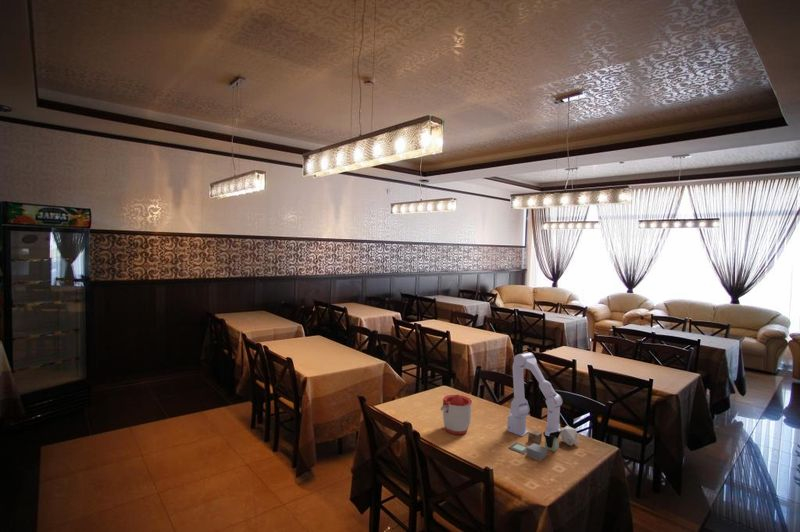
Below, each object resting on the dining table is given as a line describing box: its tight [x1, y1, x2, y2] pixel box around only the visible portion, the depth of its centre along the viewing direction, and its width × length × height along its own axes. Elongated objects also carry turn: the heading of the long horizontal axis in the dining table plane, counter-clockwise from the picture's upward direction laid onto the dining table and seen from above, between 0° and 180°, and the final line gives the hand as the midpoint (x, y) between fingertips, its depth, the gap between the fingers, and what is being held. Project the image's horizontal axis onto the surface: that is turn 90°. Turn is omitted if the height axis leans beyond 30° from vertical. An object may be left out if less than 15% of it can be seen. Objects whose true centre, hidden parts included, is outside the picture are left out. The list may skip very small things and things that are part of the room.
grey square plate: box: [508, 441, 528, 455], centre depth 197 cm, size 8×8×1 cm
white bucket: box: [440, 394, 473, 435], centre depth 214 cm, size 16×17×20 cm
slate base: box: [526, 443, 548, 462], centre depth 191 cm, size 7×7×4 cm
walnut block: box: [527, 428, 543, 445], centre depth 205 cm, size 5×5×5 cm
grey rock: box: [559, 425, 580, 446], centre depth 205 cm, size 8×9×10 cm
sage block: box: [544, 437, 560, 452], centre depth 199 cm, size 5×5×5 cm
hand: (551, 445), depth 199 cm, fingers open, 5 cm apart
